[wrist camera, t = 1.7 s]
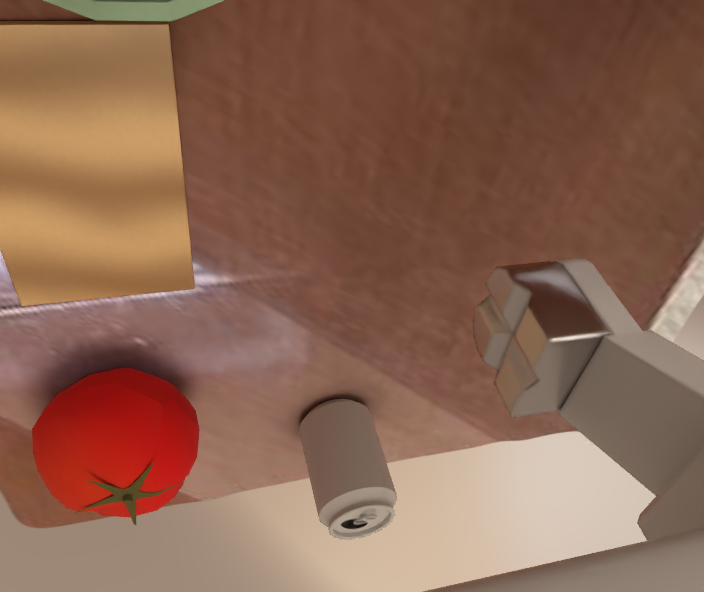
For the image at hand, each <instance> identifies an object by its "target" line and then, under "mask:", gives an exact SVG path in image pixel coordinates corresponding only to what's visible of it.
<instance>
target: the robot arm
mask: <svg viewBox="0 0 704 592" xmlns="http://www.w3.org/2000/svg"><path fill="white" fill-rule="evenodd" d="M486 287H487V289H488V291H489V293H490V295H489V296H488V297H486V298H485V299H484V300H483V301H482V302H481V303H480V304H479V305H478V306H477V309H476V313H475V316H474V319H473V336H474V340H475V344H476V348H477V350H478V352H479V354H480V357H481V359H482V361H483V362H485V363H486V364H487V365H489V366H490V367H492V368H493V369H495V370H496V371H497V373H496V377H495V381H494V385H495V387H496V389H497V391H498V393H499V395H500V397H501V399H502V401H503V403H504V405H505V407H506V409H507V411H508V413H509V415H510V417H517V416H525V415H533V414H541V413H548V412H556V411H560V412H559V415H561V416H562V417H563V418H564V419H565V420H567V421H568V422H569V423H570V424H571V425H573V426H574V427H575V428H576V429H577V430H578V431H580V432H581V433H582V434H583V435H584V436H586V437H587V438H588V439H589V440H590V441H592V442H593V443H594V444H595V445H596V446H597V447H599V448H600V449H601V450H602V451H603V452H605V453H606V454H607V455H608V456H609V457H611V458H612V459H613V460H614V461H615V462H617V463H618V464H619V465H620V466H621V467H622V468H624V469H625V470H626V471H627V472H628V473H630V474H631V475H632V476H633V477H634V478H636V479H637V480H638V481H639V482H640V483H641V484H643V485H644V486H645V487H646V488H647V489H649V490H650V491H651V492H652V493H653V494H655V495H656V497H655V498H654V499H653V501H652V502H651V503H650V504H649V505H648V506H647V507H646V508H645V509H644V511H643V512H642V513H641V514H640V516H639V519H638V522H637V523H638V525H639V527H640V528H641V530H642V532H643V534H644V536H645V537H646V539H647V541H645V542H640V543H636V544H632V545H627V546H623V547H618V548H614V549H610V550H605V551H601V552H596V553H592V554H587V555H583V556H578V557H574V558H570V559H565V560H561V561H556V562H552V563H547V564H543V565H539V566H535V567H530V568H525V569H521V570H517V571H512V572H508V573H503V574H499V575H494V576H490V577H486V578H482V579H477V580H472V581H468V582H464V583H459V584H455V585H450V586H446V587H441V588H437V589H433V590H428V591H424V592H704V360H702V359H700V358H698V357H697V356H695V355H693V354H691V353H689V352H688V351H686V350H684V349H683V348H681V347H679V346H677V345H676V344H674V343H672V342H671V341H669V340H667V339H665V338H664V337H662V336H660V335H658V334H657V333H655V332H653V331H651V330H649V331H642V330H641V328H640V327H639V326H638V324H637V323H636V322H635V320H634V319H633V318H632V316H631V315H630V314H629V312H628V311H627V310H626V308H625V307H624V306H623V304H622V303H621V302H620V300H619V299H618V298H617V296H616V295H615V294H614V292H613V291H612V290H611V288H610V287H609V286H608V284H607V283H606V282H605V280H604V279H603V277H602V276H601V275H600V273H599V272H598V271H597V269H596V268H595V267H594V265H593V264H592V263H591V262H589V261H588V260H586V259H584V258H577V259H568V260H558V261H553V262H551V261H548V262H538V263H528V264H518V265H508V266H498V267H496V268H495V269H494V270H493V271H492V272H491V273H490V274H489V277H488V279H487V282H486Z"/></svg>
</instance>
